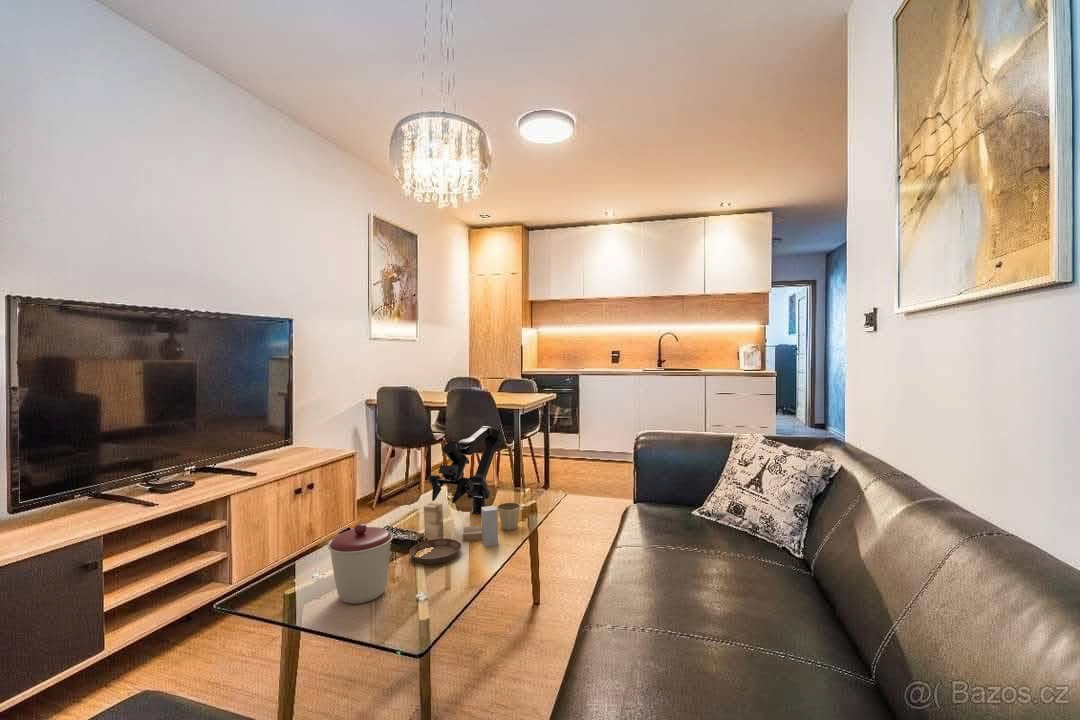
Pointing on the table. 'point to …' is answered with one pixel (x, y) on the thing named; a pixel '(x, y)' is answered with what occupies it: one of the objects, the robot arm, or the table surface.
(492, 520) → the grey pillar
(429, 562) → the plant saucer
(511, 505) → the flower pot
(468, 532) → the walnut block
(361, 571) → the canister
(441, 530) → the oak pillar
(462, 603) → the table surface
